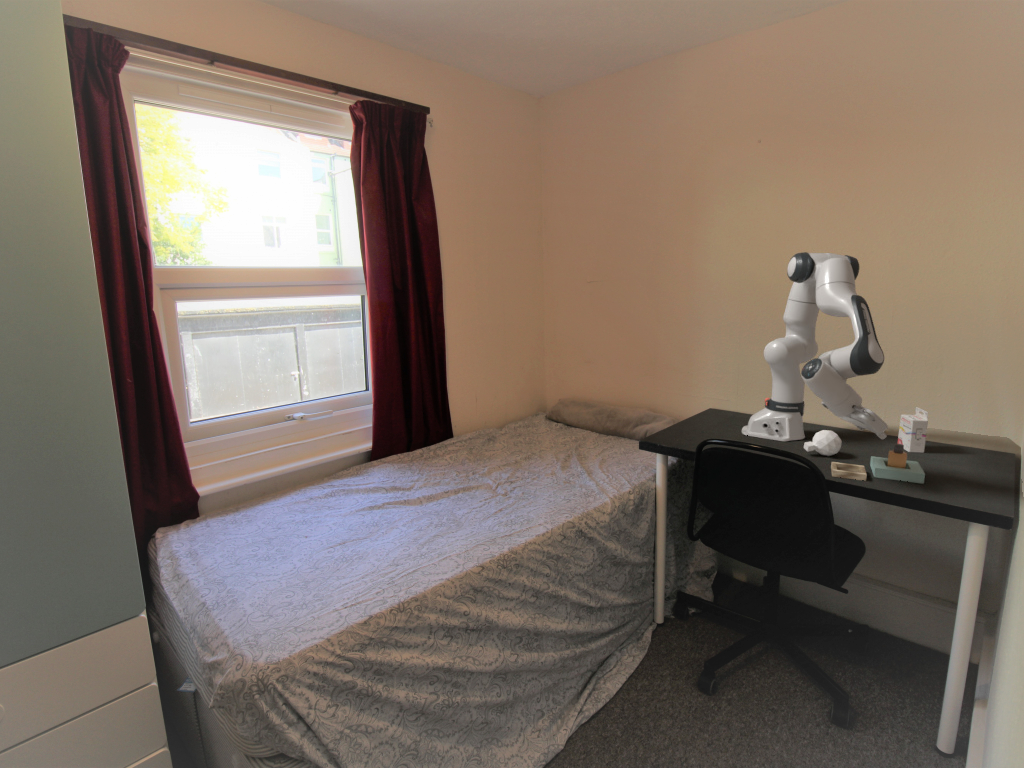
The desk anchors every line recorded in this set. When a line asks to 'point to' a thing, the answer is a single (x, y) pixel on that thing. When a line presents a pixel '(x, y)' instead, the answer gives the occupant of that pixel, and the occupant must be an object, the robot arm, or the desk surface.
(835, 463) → the square wooden frame
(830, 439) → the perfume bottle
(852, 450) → the desk surface
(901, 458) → the plug
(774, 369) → the robot arm
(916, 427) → the ink cartridge box
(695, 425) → the desk surface
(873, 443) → the desk surface
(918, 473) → the socket block
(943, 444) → the desk surface
